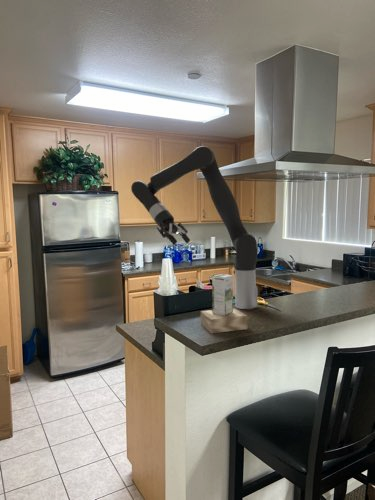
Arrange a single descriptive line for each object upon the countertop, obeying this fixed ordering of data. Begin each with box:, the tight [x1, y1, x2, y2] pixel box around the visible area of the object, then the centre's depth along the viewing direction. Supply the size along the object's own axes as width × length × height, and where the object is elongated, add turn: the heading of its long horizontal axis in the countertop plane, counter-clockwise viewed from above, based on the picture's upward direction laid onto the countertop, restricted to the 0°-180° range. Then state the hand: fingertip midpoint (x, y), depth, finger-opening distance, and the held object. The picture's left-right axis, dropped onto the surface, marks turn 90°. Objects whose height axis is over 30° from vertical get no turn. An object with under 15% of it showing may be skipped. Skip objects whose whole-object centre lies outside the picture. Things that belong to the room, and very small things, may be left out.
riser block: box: [200, 307, 248, 334], centre depth 136 cm, size 14×12×5 cm
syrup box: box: [211, 273, 234, 316], centre depth 135 cm, size 6×6×14 cm
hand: (182, 242), depth 152 cm, fingers open, 8 cm apart
